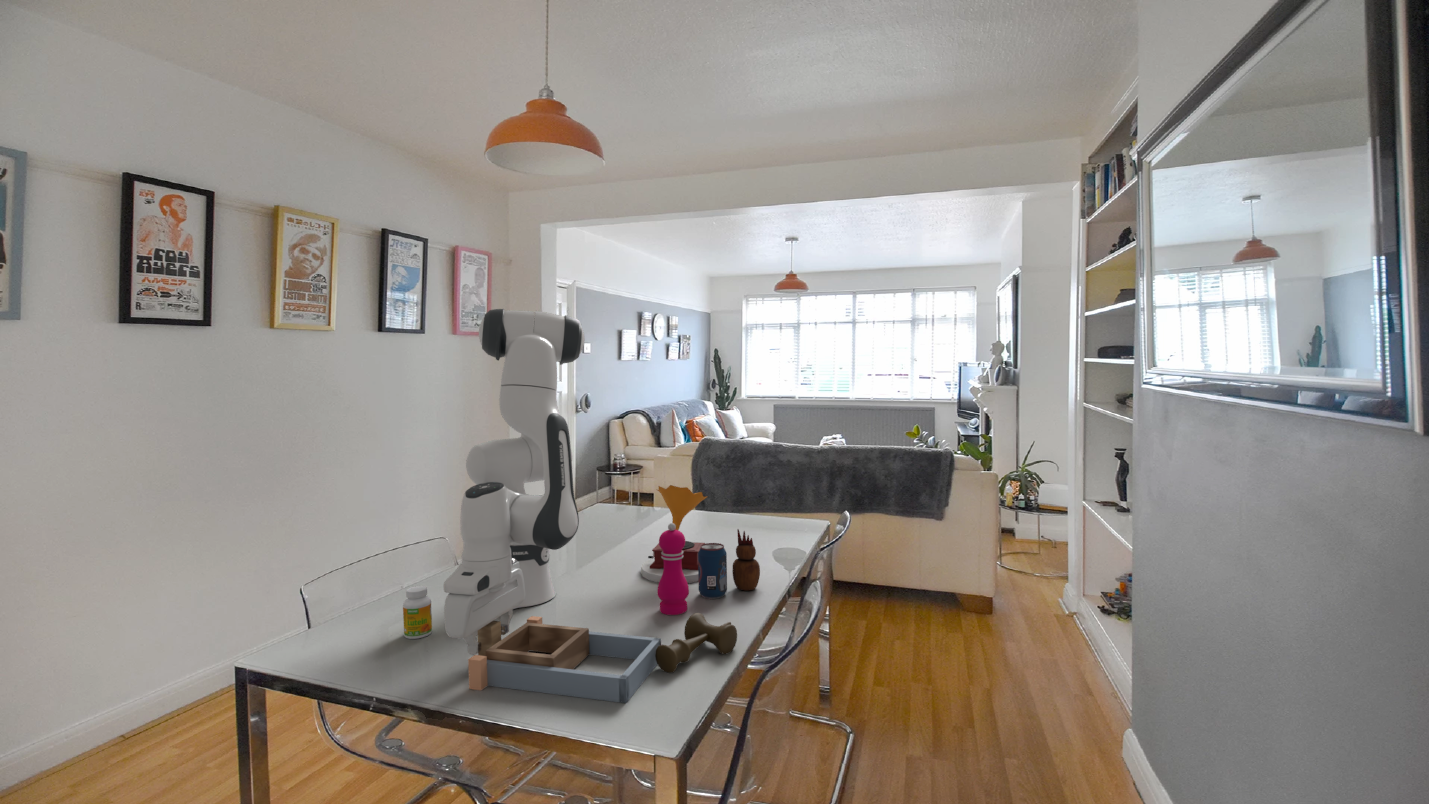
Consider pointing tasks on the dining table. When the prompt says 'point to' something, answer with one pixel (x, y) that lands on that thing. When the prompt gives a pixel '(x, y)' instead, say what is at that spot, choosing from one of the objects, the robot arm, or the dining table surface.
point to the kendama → (695, 642)
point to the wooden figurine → (745, 565)
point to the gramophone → (679, 506)
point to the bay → (569, 679)
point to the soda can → (712, 570)
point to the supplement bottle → (417, 613)
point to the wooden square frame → (535, 644)
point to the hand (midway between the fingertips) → (489, 643)
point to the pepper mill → (672, 573)
